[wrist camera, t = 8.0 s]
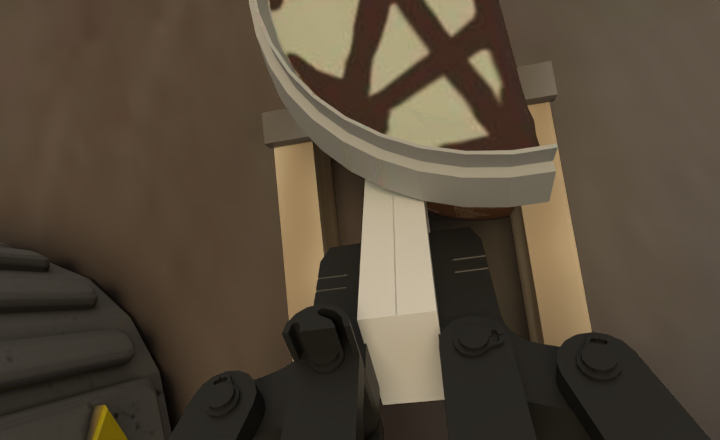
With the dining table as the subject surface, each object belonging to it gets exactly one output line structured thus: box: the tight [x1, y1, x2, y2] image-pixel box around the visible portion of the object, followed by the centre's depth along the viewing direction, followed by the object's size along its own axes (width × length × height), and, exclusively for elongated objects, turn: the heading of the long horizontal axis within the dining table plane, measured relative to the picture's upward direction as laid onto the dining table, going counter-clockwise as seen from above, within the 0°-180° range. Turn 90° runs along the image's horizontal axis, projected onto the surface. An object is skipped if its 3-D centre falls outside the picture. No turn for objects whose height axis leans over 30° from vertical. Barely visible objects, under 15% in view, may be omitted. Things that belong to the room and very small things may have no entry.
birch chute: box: [262, 61, 592, 361], centre depth 17 cm, size 10×22×4 cm, turn 7°
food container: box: [249, 0, 558, 220], centre depth 16 cm, size 12×6×10 cm, turn 10°
